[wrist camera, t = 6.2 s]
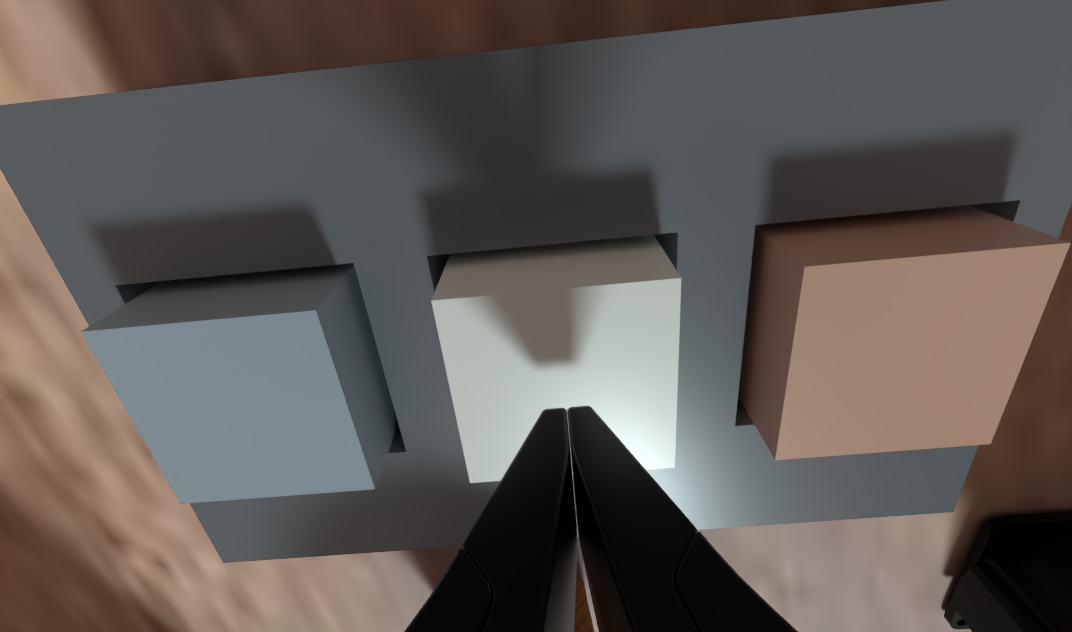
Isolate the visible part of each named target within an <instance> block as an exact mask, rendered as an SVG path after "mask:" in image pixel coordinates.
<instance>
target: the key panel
mask: <svg viewBox="0 0 1072 632" xmlns="http://www.w3.org/2000/svg"><path fill="white" fill-rule="evenodd" d="M0 169H1V171H2V172H3V174H4V176H5V178H6V180H7V181H8V183H9V185H10V187H11V188H12V190H13V192H14V194H15V195H16V197H17V199H18V201H19V203H20V204H21V206H22V208H23V210H24V211H25V213H26V215H27V217H28V218H29V220H30V222H31V224H32V225H33V227H34V229H35V231H36V233H37V234H38V236H39V238H40V240H41V241H42V243H43V245H44V247H45V248H46V250H47V252H48V254H49V256H50V257H51V259H52V261H53V263H54V264H55V266H56V268H57V270H58V271H59V273H60V275H61V277H62V278H63V280H64V282H65V284H66V286H67V287H68V289H69V291H70V293H71V294H72V296H73V298H74V300H75V301H76V303H77V305H78V307H79V309H80V310H81V312H82V314H83V316H84V317H85V319H86V321H87V323H88V324H89V326H91V325H92V324H94V323H96V322H97V321H99V320H100V319H102V318H104V317H105V316H107V315H108V314H110V313H112V312H113V311H115V310H116V309H118V308H120V307H121V306H123V305H124V304H126V303H128V302H129V301H131V300H132V299H134V298H136V297H137V296H139V295H140V294H142V293H144V292H145V291H147V290H148V289H150V288H152V287H153V286H155V285H156V284H158V283H160V282H161V281H168V280H178V279H189V278H199V277H210V276H221V275H231V274H242V273H252V272H263V271H274V270H284V269H295V268H305V267H316V266H327V265H337V264H348V263H354V267H355V270H356V274H357V277H358V281H359V285H360V288H361V292H362V295H363V299H364V302H365V306H366V310H367V313H368V317H369V320H370V324H371V327H372V331H373V335H374V338H375V342H376V345H377V349H378V353H379V356H380V360H381V363H382V367H383V370H384V374H385V378H386V381H387V385H388V388H389V392H390V395H391V399H392V403H393V406H394V410H395V413H396V417H397V420H398V427H397V430H396V433H395V435H394V438H393V441H392V444H391V446H390V449H389V452H388V455H387V457H386V460H385V463H384V466H383V469H382V471H381V474H380V477H379V480H378V482H377V485H376V488H375V489H371V490H358V491H345V492H331V493H318V494H305V495H292V496H278V497H265V498H252V499H238V500H225V501H212V502H198V503H190V505H191V506H192V508H193V510H194V512H195V513H196V515H197V517H198V519H199V520H200V522H201V524H202V526H203V528H204V529H205V531H206V533H207V535H208V536H209V538H210V540H211V542H212V543H213V545H214V547H215V549H216V551H217V552H218V554H219V556H220V558H221V559H222V561H223V563H228V562H242V561H256V560H271V559H285V558H299V557H314V556H328V555H342V554H357V553H371V552H385V551H400V550H414V549H428V548H443V547H457V546H462V544H463V543H464V541H465V539H466V538H467V536H468V534H469V533H470V531H471V529H472V528H473V526H474V524H475V523H476V521H477V519H478V518H479V516H480V514H481V513H482V511H483V509H484V508H485V506H486V504H487V503H488V501H489V499H490V498H491V496H492V494H493V493H494V491H495V489H496V488H497V486H498V484H499V483H500V481H492V482H479V483H470V481H469V476H468V471H467V467H466V462H465V457H464V453H463V448H462V443H461V439H460V434H459V429H458V424H457V420H456V415H455V410H454V406H453V401H452V396H451V392H450V387H449V382H448V377H447V373H446V368H445V363H444V359H443V354H442V349H441V345H440V340H439V335H438V331H437V326H436V321H435V316H434V312H433V307H432V302H431V300H432V297H433V295H434V292H435V290H436V288H437V285H438V283H439V280H440V278H441V275H442V273H443V270H444V268H445V266H446V263H447V261H448V258H449V256H450V254H454V253H465V252H475V251H486V250H496V249H507V248H518V247H528V246H539V245H549V244H560V243H571V242H581V241H592V240H602V239H613V238H624V237H634V236H645V235H654V236H655V237H656V239H657V241H658V242H659V244H660V245H661V247H662V248H663V250H664V252H665V253H666V255H667V256H668V258H669V259H670V261H671V263H672V264H673V266H674V267H675V269H676V270H677V272H678V273H679V275H680V277H681V304H680V333H679V362H678V391H677V421H676V450H675V468H665V469H652V470H646V471H647V472H648V473H649V474H650V475H651V476H652V477H653V479H654V480H655V481H656V482H657V483H658V484H659V486H660V487H661V488H662V489H663V490H664V491H665V492H666V494H667V495H668V496H669V497H670V498H671V499H672V500H673V502H674V503H675V504H676V505H677V506H678V507H679V509H680V510H681V511H682V512H683V513H684V514H685V515H686V517H687V518H688V519H689V520H690V521H691V522H692V524H693V525H694V526H695V527H696V528H697V530H701V529H715V528H729V527H744V526H758V525H772V524H787V523H801V522H815V521H830V520H844V519H858V518H873V517H887V516H901V515H915V514H930V513H944V512H953V511H954V508H955V506H956V503H957V500H958V498H959V495H960V493H961V490H962V487H963V485H964V482H965V480H966V477H967V474H968V472H969V469H970V467H971V464H972V461H973V459H974V456H975V454H976V451H977V448H978V446H979V445H972V446H959V447H945V448H932V449H919V450H905V451H892V452H879V453H865V454H852V455H839V456H825V457H812V458H799V459H785V460H775V459H774V457H773V456H772V454H771V452H770V451H769V449H768V447H767V445H766V444H765V442H764V440H763V439H762V437H761V435H760V433H759V432H758V430H757V428H756V427H755V425H754V423H753V421H752V420H751V418H750V416H749V415H748V413H747V411H746V410H745V408H744V406H743V404H742V403H741V401H740V399H739V398H738V392H739V382H740V373H741V363H742V353H743V343H744V333H745V323H746V313H747V303H748V293H749V283H750V273H751V263H752V254H753V244H754V234H755V225H761V224H772V223H783V222H793V221H804V220H814V219H825V218H836V217H846V216H857V215H867V214H878V213H889V212H899V211H910V210H921V209H931V208H942V207H952V206H963V205H968V206H971V207H974V208H977V209H979V210H982V211H985V212H988V213H990V214H993V215H996V216H999V217H1001V218H1004V219H1007V220H1010V221H1012V222H1015V223H1018V224H1021V225H1023V226H1026V227H1029V228H1032V229H1034V230H1037V231H1040V232H1043V233H1046V234H1048V235H1051V236H1054V237H1057V238H1059V236H1060V233H1061V230H1062V228H1063V225H1064V223H1065V220H1066V217H1067V215H1068V212H1069V210H1070V207H1071V204H1072V0H946V1H937V2H928V3H919V4H910V5H901V6H892V7H883V8H874V9H865V10H856V11H846V12H837V13H828V14H819V15H810V16H801V17H792V18H783V19H774V20H765V21H756V22H747V23H738V24H729V25H720V26H711V27H702V28H693V29H684V30H675V31H666V32H657V33H648V34H639V35H630V36H621V37H612V38H603V39H594V40H585V41H576V42H567V43H558V44H549V45H540V46H531V47H522V48H513V49H504V50H495V51H486V52H477V53H468V54H459V55H450V56H441V57H432V58H423V59H414V60H405V61H396V62H387V63H378V64H369V65H360V66H351V67H342V68H333V69H324V70H314V71H305V72H296V73H287V74H278V75H269V76H260V77H251V78H242V79H233V80H224V81H215V82H206V83H197V84H188V85H179V86H170V87H161V88H152V89H143V90H134V91H125V92H116V93H107V94H98V95H89V96H80V97H71V98H62V99H53V100H44V101H35V102H26V103H17V104H8V105H0ZM573 486H574V483H573ZM574 497H575V494H574ZM575 509H576V505H575ZM576 520H577V517H576ZM577 538H579V534H578V526H577Z"/></svg>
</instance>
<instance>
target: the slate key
mask: <svg viewBox="0 0 1072 632" xmlns="http://www.w3.org/2000/svg"><path fill="white" fill-rule="evenodd" d="M81 333H82V334H83V336H84V338H85V339H86V341H87V343H88V345H89V346H90V348H91V350H92V352H93V353H94V355H95V357H96V358H97V360H98V362H99V364H100V365H101V367H102V369H103V371H104V372H105V374H106V376H107V377H108V379H109V381H110V383H111V384H112V386H113V388H114V390H115V391H116V393H117V395H118V397H119V398H120V400H121V402H122V403H123V405H124V407H125V409H126V410H127V412H128V414H129V416H130V417H131V419H132V421H133V422H134V424H135V426H136V428H137V429H138V431H139V433H140V435H141V436H142V438H143V440H144V442H145V443H146V445H147V447H148V448H149V450H150V452H151V454H152V455H153V457H154V459H155V461H156V462H157V464H158V466H159V467H160V469H161V471H162V473H163V474H164V476H165V478H166V480H167V481H168V483H169V485H170V487H171V488H172V490H173V492H174V493H175V495H176V497H177V499H178V500H179V502H180V504H185V503H198V502H212V501H225V500H238V499H252V498H265V497H278V496H292V495H305V494H318V493H331V492H345V491H358V490H371V489H375V488H376V485H377V482H378V480H379V477H380V474H381V471H382V469H383V466H384V463H385V460H386V457H387V455H388V452H389V449H390V446H391V444H392V441H393V438H394V435H395V433H396V430H397V427H398V420H397V417H396V413H395V410H394V406H393V403H392V399H391V395H390V392H389V388H388V385H387V381H386V378H385V374H384V370H383V367H382V363H381V360H380V356H379V353H378V349H377V345H376V342H375V338H374V335H373V331H372V327H371V324H370V320H369V317H368V313H367V310H366V306H365V302H364V299H363V295H362V292H361V288H360V285H359V281H358V277H357V274H356V270H355V267H354V263H348V264H337V265H327V266H316V267H305V268H295V269H284V270H274V271H263V272H252V273H242V274H231V275H221V276H210V277H199V278H189V279H178V280H168V281H161V282H160V283H158V284H156V285H155V286H153V287H152V288H150V289H148V290H147V291H145V292H144V293H142V294H140V295H139V296H137V297H136V298H134V299H132V300H131V301H129V302H128V303H126V304H124V305H123V306H121V307H120V308H118V309H116V310H115V311H113V312H112V313H110V314H108V315H107V316H105V317H104V318H102V319H100V320H99V321H97V322H96V323H94V324H92V325H91V326H89V327H88V328H86V329H84V330H83V331H81Z"/></svg>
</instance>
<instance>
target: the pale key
mask: <svg viewBox="0 0 1072 632" xmlns="http://www.w3.org/2000/svg"><path fill="white" fill-rule="evenodd" d="M431 302H432V307H433V312H434V316H435V321H436V326H437V331H438V335H439V340H440V345H441V349H442V354H443V359H444V363H445V368H446V373H447V377H448V382H449V387H450V392H451V396H452V401H453V406H454V410H455V415H456V420H457V424H458V429H459V434H460V439H461V443H462V448H463V453H464V457H465V462H466V467H467V471H468V476H469V481H470V483H479V482H492V481H501V479H502V478H503V476H504V474H505V473H506V471H507V469H508V468H509V466H510V464H511V463H512V461H513V459H514V458H515V456H516V454H517V453H518V451H519V449H520V448H521V446H522V444H523V443H524V441H525V439H526V438H527V436H528V434H529V433H530V431H531V429H532V428H533V426H534V424H535V423H536V421H537V419H538V418H539V416H540V414H541V413H542V411H543V410H545V409H552V408H565V409H566V410H568V408H570V407H577V406H590V407H592V408H593V409H594V411H595V412H596V413H597V414H598V415H599V416H600V417H601V419H602V420H603V421H604V422H605V423H606V424H607V426H608V427H609V428H610V429H611V430H612V431H613V432H614V434H615V435H616V436H617V437H618V438H619V439H620V441H621V442H622V443H623V444H624V445H625V446H626V447H627V449H628V450H629V451H630V452H631V453H632V454H633V456H634V457H635V458H636V459H637V460H638V461H639V462H640V464H641V465H642V466H643V467H644V468H645V469H646V470H652V469H665V468H675V450H676V421H677V391H678V362H679V333H680V304H681V277H680V275H679V273H678V272H677V270H676V269H675V267H674V266H673V264H672V263H671V261H670V259H669V258H668V256H667V255H666V253H665V252H664V250H663V248H662V247H661V245H660V244H659V242H658V241H657V239H656V237H655V236H654V235H645V236H634V237H624V238H613V239H602V240H592V241H581V242H571V243H560V244H549V245H539V246H528V247H518V248H507V249H496V250H486V251H475V252H465V253H454V254H450V256H449V258H448V261H447V263H446V266H445V268H444V270H443V273H442V275H441V278H440V280H439V283H438V285H437V288H436V290H435V292H434V295H433V297H432V300H431ZM567 417H568V414H567ZM568 429H569V426H568ZM569 440H570V437H569ZM570 451H571V449H570ZM571 463H572V460H571ZM572 474H573V471H572Z"/></svg>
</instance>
